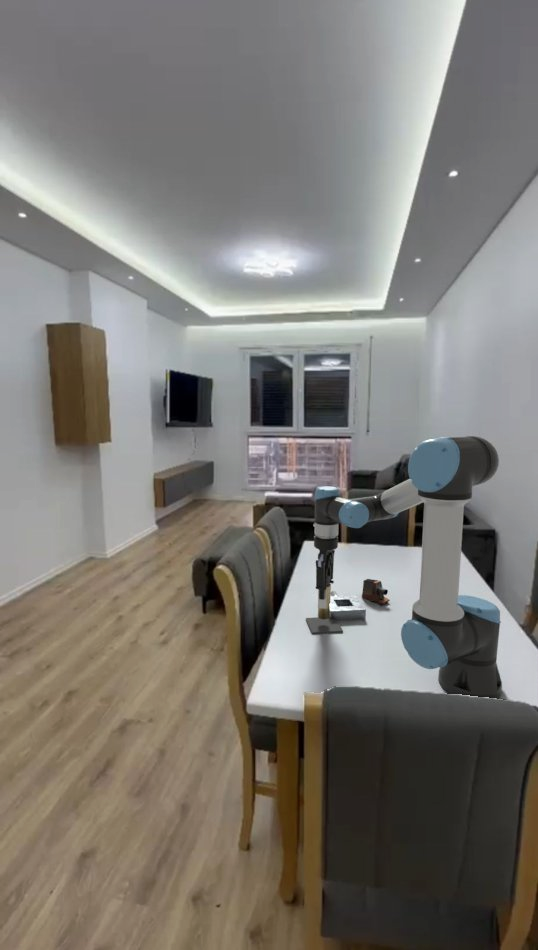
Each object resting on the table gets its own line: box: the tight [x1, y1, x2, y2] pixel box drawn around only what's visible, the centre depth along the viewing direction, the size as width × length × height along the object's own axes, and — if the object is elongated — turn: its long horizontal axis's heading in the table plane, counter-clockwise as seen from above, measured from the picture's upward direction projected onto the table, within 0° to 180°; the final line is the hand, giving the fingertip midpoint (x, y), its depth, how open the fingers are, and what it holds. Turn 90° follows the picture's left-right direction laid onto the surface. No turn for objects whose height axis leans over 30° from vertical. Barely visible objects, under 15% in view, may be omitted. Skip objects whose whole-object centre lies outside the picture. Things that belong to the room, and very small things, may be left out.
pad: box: [305, 616, 344, 635], centre depth 155 cm, size 10×10×1 cm
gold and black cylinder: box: [317, 575, 331, 620], centre depth 153 cm, size 4×4×14 cm
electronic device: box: [361, 578, 391, 606], centre depth 174 cm, size 4×10×8 cm, turn 42°
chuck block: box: [329, 590, 367, 622], centre depth 168 cm, size 20×12×4 cm, turn 7°
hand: (324, 604), depth 154 cm, fingers closed on gold and black cylinder, 4 cm apart
